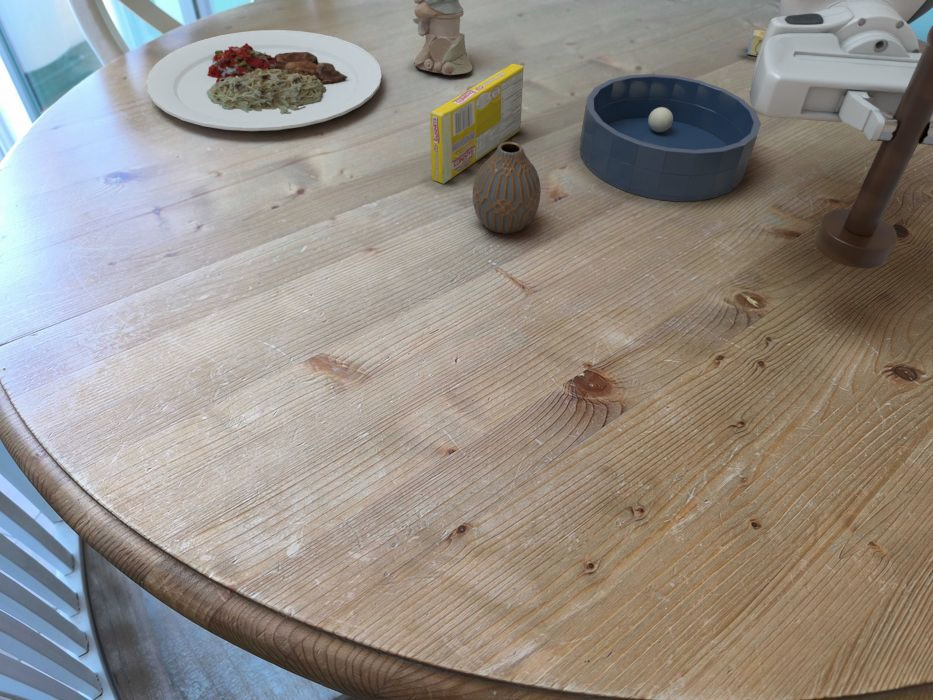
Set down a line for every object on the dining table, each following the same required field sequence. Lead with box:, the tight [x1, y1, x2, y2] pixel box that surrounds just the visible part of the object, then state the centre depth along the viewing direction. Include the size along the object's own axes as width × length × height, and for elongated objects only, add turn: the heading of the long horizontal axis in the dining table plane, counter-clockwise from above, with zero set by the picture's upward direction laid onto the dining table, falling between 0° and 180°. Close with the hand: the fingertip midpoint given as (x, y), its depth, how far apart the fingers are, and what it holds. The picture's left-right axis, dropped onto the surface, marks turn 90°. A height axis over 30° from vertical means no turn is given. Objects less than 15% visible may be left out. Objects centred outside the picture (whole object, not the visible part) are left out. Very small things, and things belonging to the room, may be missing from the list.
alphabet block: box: [746, 29, 766, 57], centre depth 114 cm, size 3×3×3 cm
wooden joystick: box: [813, 24, 933, 270], centre depth 58 cm, size 6×6×19 cm
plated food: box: [145, 29, 383, 132], centre depth 98 cm, size 30×30×3 cm
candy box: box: [429, 63, 524, 185], centre depth 86 cm, size 16×2×8 cm, turn 145°
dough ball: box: [648, 107, 673, 133], centre depth 93 cm, size 3×3×3 cm
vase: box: [472, 141, 542, 235], centre depth 76 cm, size 7×7×9 cm
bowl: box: [579, 73, 762, 202], centre depth 88 cm, size 20×20×6 cm
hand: (909, 134), depth 56 cm, fingers closed on wooden joystick, 2 cm apart
